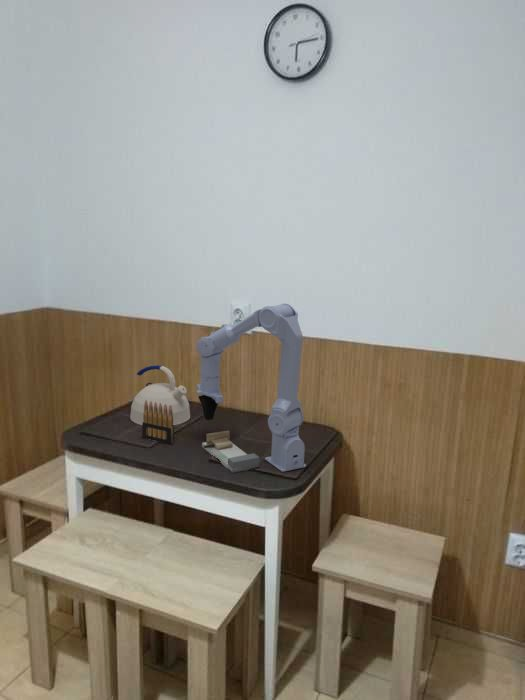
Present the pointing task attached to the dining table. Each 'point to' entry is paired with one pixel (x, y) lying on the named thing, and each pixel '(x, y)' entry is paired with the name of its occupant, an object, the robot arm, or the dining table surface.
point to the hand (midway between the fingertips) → (208, 419)
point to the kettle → (161, 398)
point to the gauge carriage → (218, 440)
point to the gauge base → (234, 458)
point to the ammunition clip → (158, 423)
